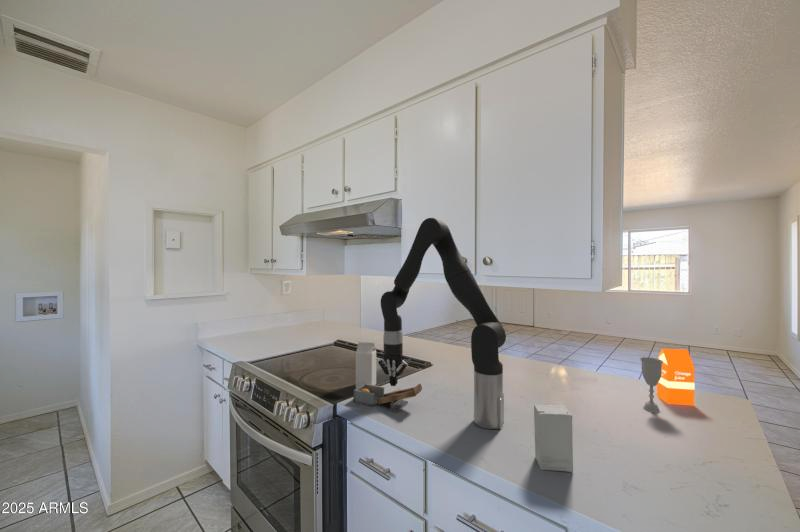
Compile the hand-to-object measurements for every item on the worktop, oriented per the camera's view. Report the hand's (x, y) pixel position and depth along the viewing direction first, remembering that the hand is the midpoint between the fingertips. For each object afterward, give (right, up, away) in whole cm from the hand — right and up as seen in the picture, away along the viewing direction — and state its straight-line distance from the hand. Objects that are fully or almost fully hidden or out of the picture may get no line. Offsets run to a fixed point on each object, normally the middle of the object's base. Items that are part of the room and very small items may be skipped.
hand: (393, 385), depth 131 cm
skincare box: (+43, -5, -44) cm, 61 cm away
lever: (+4, -1, -6) cm, 7 cm away
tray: (-9, -5, -2) cm, 11 cm away
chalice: (+94, -5, -10) cm, 95 cm away
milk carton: (-12, -5, +12) cm, 18 cm away
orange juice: (+109, -5, -2) cm, 109 cm away
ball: (-11, -3, -2) cm, 11 cm away
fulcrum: (+1, -5, -8) cm, 9 cm away
